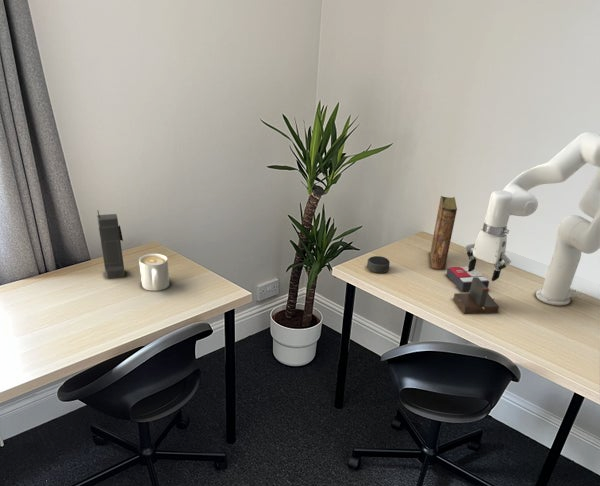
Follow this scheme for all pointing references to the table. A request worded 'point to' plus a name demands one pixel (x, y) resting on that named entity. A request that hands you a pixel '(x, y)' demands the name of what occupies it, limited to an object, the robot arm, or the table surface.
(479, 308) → the stand
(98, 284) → the table surface
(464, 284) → the red and grey box
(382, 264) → the smart speaker
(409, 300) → the table surface
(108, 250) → the portable radio
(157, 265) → the coffee mug
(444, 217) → the book
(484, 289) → the grey rectangular slab
